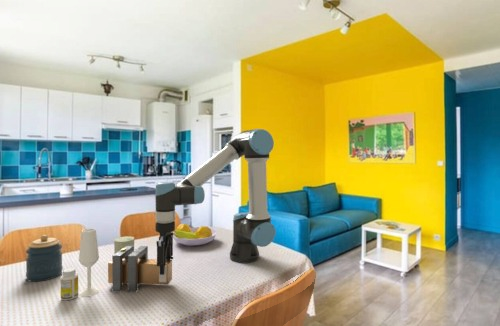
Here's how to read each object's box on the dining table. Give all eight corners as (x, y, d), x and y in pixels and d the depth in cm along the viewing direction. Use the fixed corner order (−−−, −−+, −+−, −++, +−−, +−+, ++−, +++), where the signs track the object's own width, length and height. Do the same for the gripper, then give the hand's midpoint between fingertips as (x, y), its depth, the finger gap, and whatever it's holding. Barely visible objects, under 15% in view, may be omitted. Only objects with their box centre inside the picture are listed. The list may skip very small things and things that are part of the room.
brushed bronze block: (172, 279, 120) (172, 259, 119) (168, 284, 115) (168, 264, 114) (114, 277, 121) (114, 258, 120) (108, 283, 115) (108, 262, 115)
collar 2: (147, 278, 124) (147, 246, 123) (135, 292, 112) (135, 256, 111) (140, 278, 124) (140, 246, 123) (127, 292, 112) (127, 255, 111)
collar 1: (133, 278, 124) (133, 244, 123) (120, 291, 112) (120, 254, 111) (126, 278, 124) (126, 244, 124) (112, 291, 112) (112, 254, 112)
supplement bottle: (75, 292, 111) (74, 265, 111) (80, 296, 108) (80, 269, 107) (58, 297, 107) (58, 270, 107) (63, 302, 104) (63, 274, 103)
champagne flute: (97, 295, 109) (96, 231, 108) (76, 297, 107) (76, 232, 106) (100, 287, 115) (100, 227, 115) (81, 289, 114) (81, 228, 113)
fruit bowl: (204, 234, 193) (204, 217, 193) (224, 244, 171) (224, 225, 171) (162, 241, 178) (162, 222, 177) (178, 253, 155) (178, 232, 155)
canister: (39, 284, 118) (39, 240, 117) (18, 279, 122) (17, 237, 122) (69, 272, 130) (69, 232, 130) (49, 267, 135) (48, 229, 134)
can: (127, 266, 137) (127, 241, 136) (109, 265, 139) (109, 240, 138) (138, 259, 146) (138, 235, 146) (122, 258, 148) (121, 234, 147)
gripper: (163, 216, 126) (163, 269, 126) (147, 226, 108) (147, 288, 108) (180, 216, 125) (180, 270, 126) (167, 226, 107) (167, 289, 108)
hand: (165, 278), depth 117 cm, fingers closed on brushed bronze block, 5 cm apart
